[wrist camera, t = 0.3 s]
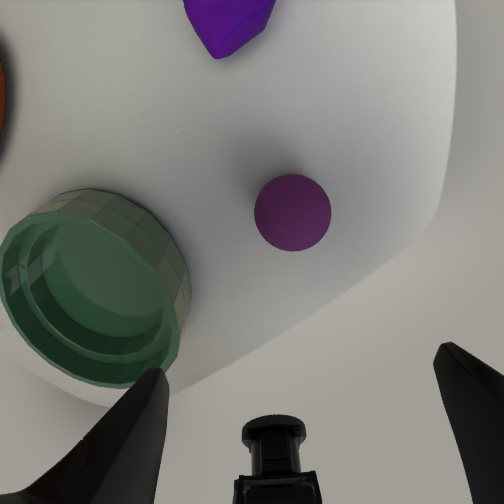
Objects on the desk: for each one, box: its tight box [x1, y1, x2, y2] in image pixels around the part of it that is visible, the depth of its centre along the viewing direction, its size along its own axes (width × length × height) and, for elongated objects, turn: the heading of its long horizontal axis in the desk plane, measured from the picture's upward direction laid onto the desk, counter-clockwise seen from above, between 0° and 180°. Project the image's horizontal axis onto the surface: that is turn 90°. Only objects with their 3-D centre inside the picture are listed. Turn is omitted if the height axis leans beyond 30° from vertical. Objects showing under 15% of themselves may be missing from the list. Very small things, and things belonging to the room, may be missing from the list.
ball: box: [254, 174, 331, 251], centre depth 18 cm, size 4×4×4 cm
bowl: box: [0, 189, 191, 389], centre depth 20 cm, size 14×14×5 cm
